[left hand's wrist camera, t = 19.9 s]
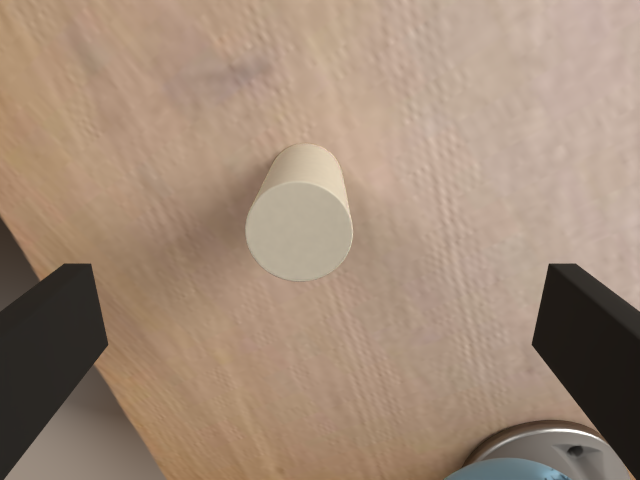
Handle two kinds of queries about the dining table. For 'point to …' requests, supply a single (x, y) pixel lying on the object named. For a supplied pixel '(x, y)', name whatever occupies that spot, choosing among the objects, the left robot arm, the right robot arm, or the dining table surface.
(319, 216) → the canister
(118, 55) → the dining table surface
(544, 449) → the right robot arm
